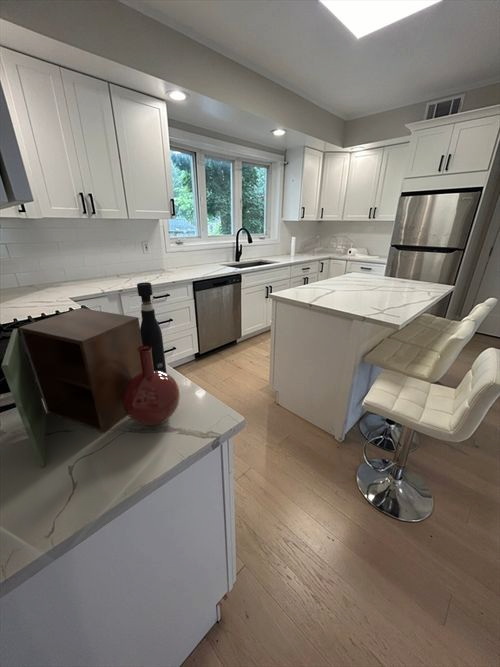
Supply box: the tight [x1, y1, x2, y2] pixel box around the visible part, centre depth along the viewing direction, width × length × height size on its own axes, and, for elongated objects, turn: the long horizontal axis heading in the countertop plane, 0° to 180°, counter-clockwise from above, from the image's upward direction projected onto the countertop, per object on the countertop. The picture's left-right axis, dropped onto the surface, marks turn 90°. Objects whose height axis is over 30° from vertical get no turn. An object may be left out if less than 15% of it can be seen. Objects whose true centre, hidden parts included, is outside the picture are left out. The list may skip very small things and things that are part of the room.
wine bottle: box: [136, 282, 168, 374], centre depth 84 cm, size 6×6×30 cm
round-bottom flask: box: [123, 345, 181, 427], centre depth 66 cm, size 13×13×20 cm
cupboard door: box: [0, 328, 47, 469], centre depth 58 cm, size 7×20×24 cm, turn 34°
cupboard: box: [18, 307, 143, 434], centre depth 71 cm, size 16×20×24 cm
